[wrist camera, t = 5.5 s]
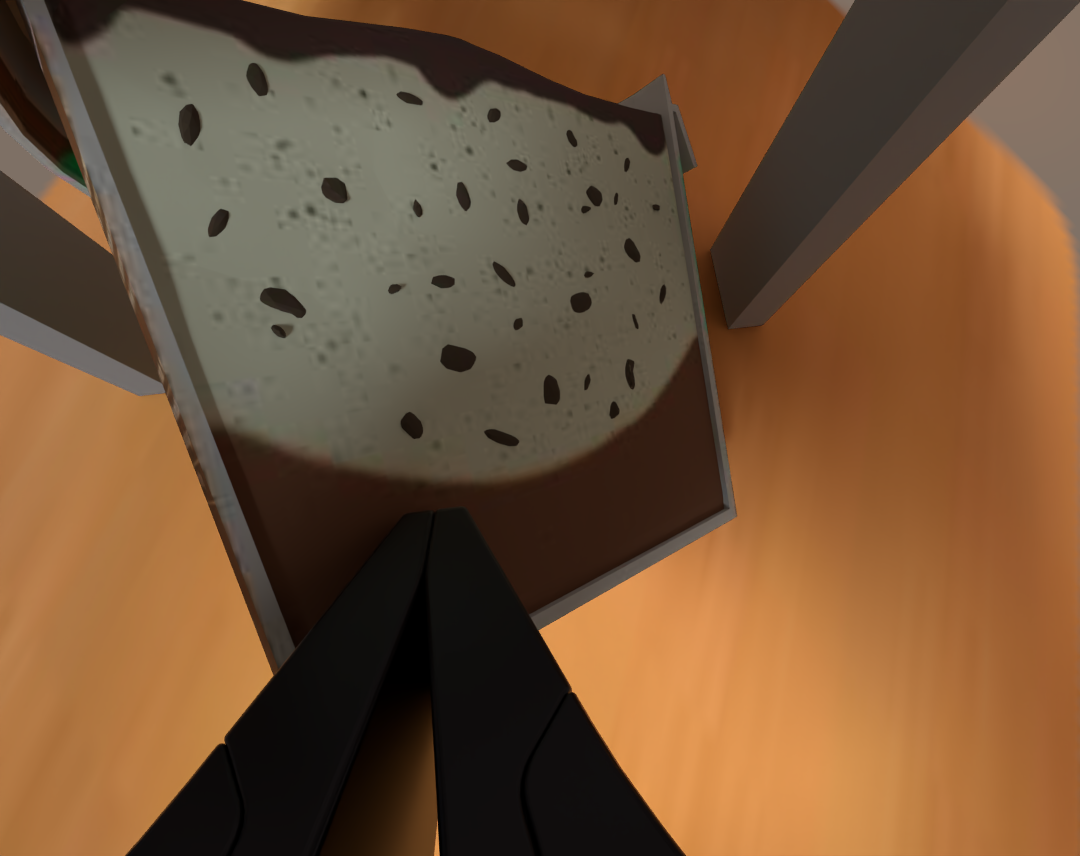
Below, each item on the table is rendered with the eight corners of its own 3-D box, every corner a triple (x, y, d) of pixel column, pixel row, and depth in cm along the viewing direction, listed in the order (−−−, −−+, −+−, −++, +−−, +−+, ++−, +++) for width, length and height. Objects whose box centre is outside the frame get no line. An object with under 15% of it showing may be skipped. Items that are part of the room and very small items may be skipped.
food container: (588, 502, 18) (518, 195, 18) (769, 497, 13) (678, 78, 13) (120, 693, 10) (-24, 142, 10) (157, 848, 5) (-117, -206, 5)
